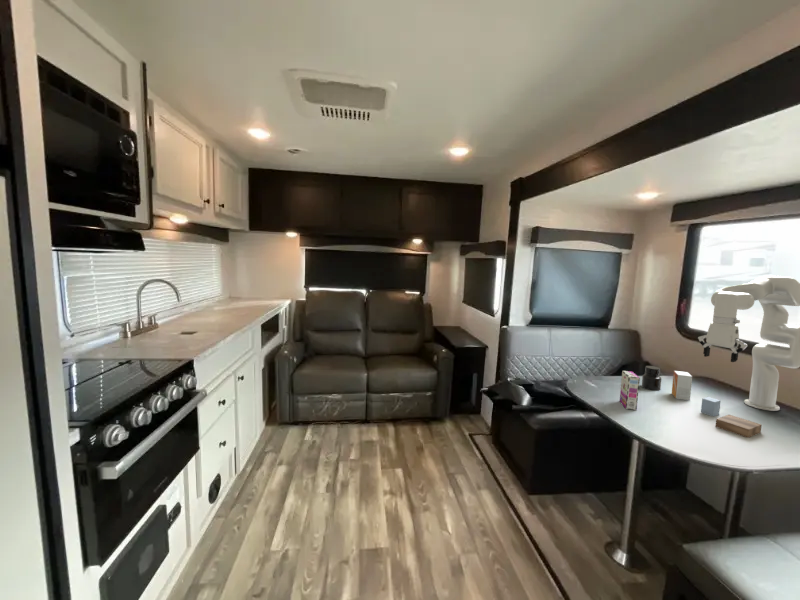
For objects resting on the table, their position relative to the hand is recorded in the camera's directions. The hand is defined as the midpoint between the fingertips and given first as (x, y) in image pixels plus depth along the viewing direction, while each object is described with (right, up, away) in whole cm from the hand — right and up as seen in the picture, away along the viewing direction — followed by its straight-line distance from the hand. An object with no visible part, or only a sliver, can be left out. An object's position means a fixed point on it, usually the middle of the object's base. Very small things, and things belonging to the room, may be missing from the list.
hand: (719, 358), depth 161 cm
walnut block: (+3, -30, -5) cm, 31 cm away
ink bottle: (+1, -24, +46) cm, 52 cm away
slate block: (+5, -28, +11) cm, 31 cm away
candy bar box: (-28, -27, +20) cm, 44 cm away
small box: (+8, -26, +32) cm, 42 cm away
